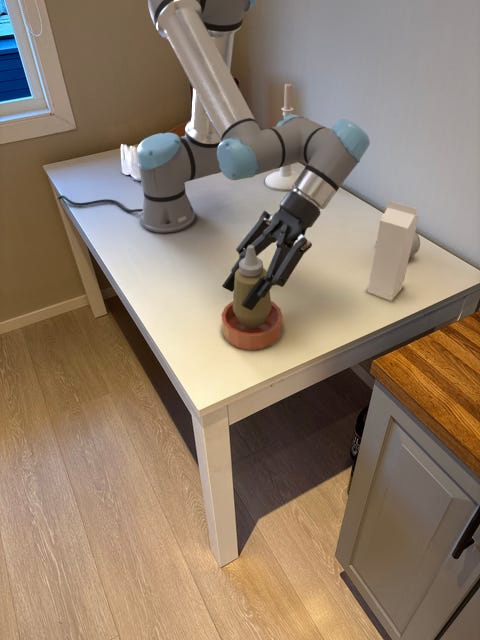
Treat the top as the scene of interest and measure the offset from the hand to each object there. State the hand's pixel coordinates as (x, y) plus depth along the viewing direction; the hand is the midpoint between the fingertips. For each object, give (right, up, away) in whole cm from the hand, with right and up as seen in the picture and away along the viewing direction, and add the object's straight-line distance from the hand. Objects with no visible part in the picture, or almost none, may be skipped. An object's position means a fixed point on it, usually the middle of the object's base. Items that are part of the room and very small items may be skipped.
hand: (236, 297), depth 96 cm
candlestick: (+15, +41, +62) cm, 76 cm away
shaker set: (-35, +44, +68) cm, 88 cm away
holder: (+3, -6, +8) cm, 11 cm away
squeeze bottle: (+3, -4, +6) cm, 8 cm away
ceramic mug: (+40, +12, +28) cm, 50 cm away
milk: (+34, +2, +17) cm, 38 cm away
